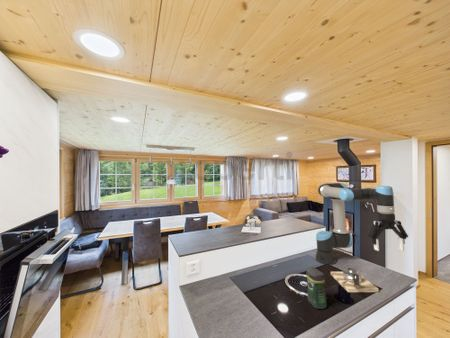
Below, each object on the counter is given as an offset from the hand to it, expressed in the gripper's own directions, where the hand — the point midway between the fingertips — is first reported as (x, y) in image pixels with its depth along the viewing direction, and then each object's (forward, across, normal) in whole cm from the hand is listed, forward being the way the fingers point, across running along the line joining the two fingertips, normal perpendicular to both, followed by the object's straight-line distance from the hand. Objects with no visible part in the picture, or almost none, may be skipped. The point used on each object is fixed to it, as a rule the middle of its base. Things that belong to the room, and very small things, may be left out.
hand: (388, 249), depth 103 cm
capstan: (+26, -13, +14) cm, 32 cm away
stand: (+28, -11, +17) cm, 35 cm away
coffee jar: (+28, -43, -3) cm, 52 cm away
